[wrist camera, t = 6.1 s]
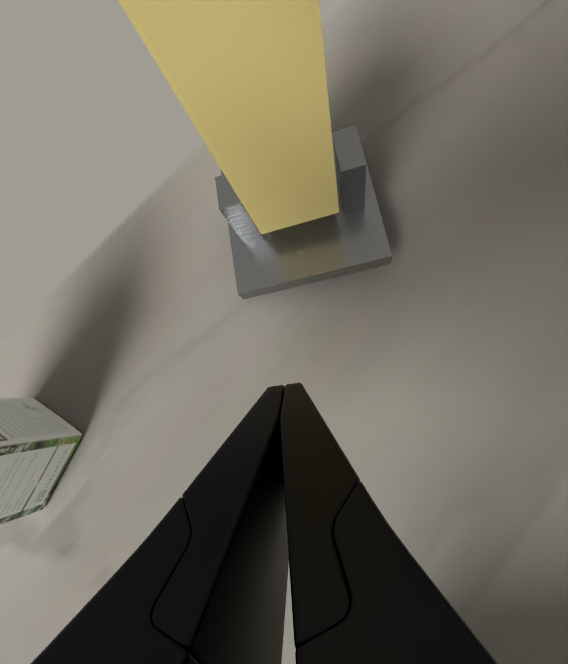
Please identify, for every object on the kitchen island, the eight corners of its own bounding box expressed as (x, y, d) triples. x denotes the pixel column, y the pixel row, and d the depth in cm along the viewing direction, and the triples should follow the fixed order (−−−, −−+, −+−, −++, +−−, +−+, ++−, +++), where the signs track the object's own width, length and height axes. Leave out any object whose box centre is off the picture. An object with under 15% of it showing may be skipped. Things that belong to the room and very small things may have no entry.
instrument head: (339, 212, 16) (291, -283, 4) (260, 234, 17) (38, -131, 5) (324, 150, 17) (251, -404, 5) (250, 173, 18) (40, -259, 6)
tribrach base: (388, 270, 19) (399, 224, 14) (249, 303, 20) (214, 273, 15) (356, 149, 21) (355, 71, 16) (232, 188, 23) (197, 129, 18)
